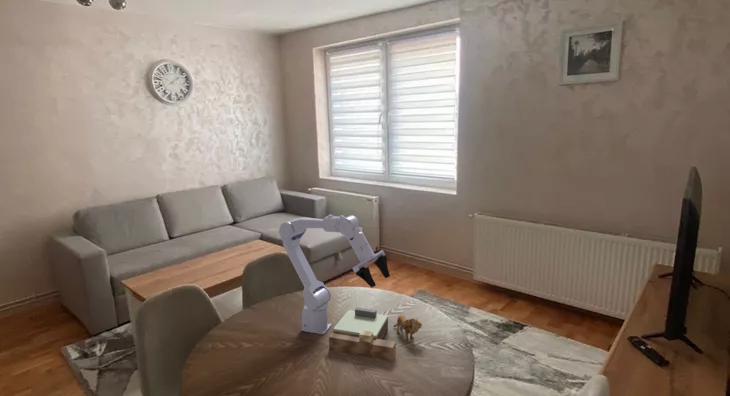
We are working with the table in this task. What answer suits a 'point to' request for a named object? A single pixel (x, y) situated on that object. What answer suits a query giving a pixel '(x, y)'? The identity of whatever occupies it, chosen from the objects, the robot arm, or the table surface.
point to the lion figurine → (408, 326)
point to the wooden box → (364, 345)
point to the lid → (361, 322)
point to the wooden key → (366, 336)
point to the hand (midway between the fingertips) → (380, 281)
